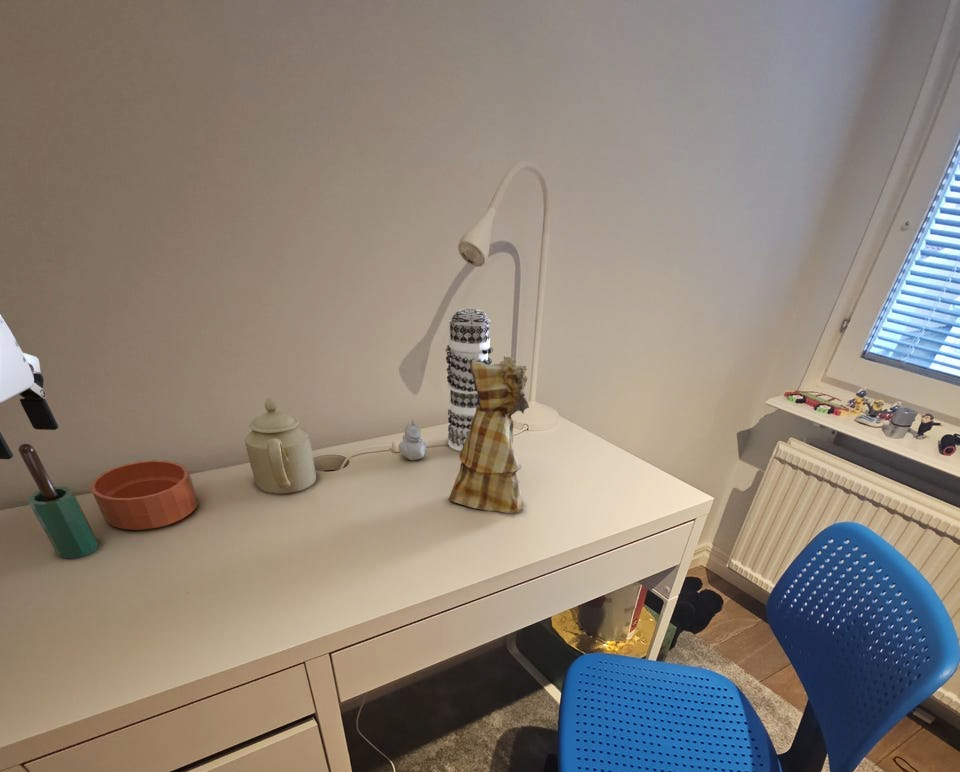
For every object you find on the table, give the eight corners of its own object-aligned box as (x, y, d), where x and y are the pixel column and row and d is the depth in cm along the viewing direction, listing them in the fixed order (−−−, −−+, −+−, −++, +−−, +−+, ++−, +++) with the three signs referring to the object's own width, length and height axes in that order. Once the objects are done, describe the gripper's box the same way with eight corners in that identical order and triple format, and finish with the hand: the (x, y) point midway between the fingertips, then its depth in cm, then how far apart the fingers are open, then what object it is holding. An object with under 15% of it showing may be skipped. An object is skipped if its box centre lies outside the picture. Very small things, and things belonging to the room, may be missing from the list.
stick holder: (50, 558, 83) (18, 503, 77) (70, 539, 87) (42, 485, 81) (86, 559, 83) (58, 504, 77) (105, 540, 87) (79, 487, 81)
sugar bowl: (338, 490, 102) (325, 406, 92) (282, 508, 96) (262, 421, 86) (299, 463, 110) (283, 383, 100) (245, 478, 105) (223, 395, 95)
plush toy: (468, 466, 109) (465, 335, 88) (537, 479, 106) (550, 347, 86) (445, 513, 101) (436, 381, 81) (519, 528, 99) (528, 396, 78)
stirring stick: (67, 548, 84) (12, 446, 74) (74, 542, 85) (21, 441, 75) (79, 549, 84) (26, 447, 74) (85, 542, 85) (34, 441, 75)
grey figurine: (406, 465, 111) (404, 425, 105) (394, 453, 115) (391, 414, 110) (431, 461, 113) (430, 421, 107) (418, 449, 117) (416, 410, 112)
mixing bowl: (88, 532, 89) (71, 497, 85) (132, 491, 99) (118, 458, 95) (177, 535, 89) (164, 501, 85) (211, 494, 100) (201, 461, 96)
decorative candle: (475, 432, 125) (478, 304, 108) (497, 447, 119) (503, 314, 102) (439, 439, 121) (436, 308, 104) (459, 455, 115) (460, 319, 99)
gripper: (-34, 279, 69) (36, 418, 81) (-155, 309, 56) (-51, 470, 68) (26, 280, 69) (88, 419, 81) (-82, 311, 56) (10, 471, 68)
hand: (24, 442), depth 74 cm, fingers open, 9 cm apart
